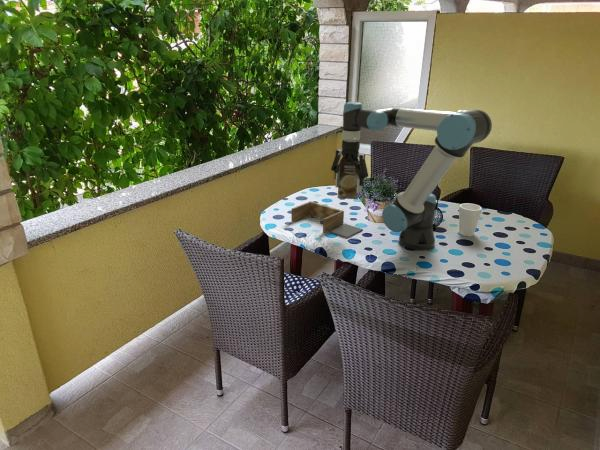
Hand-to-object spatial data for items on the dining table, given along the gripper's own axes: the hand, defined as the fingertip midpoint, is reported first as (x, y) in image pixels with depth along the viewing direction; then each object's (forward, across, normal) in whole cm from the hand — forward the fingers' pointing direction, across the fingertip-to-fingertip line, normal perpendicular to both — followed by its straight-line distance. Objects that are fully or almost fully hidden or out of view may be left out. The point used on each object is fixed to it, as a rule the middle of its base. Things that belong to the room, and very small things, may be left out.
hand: (348, 189), depth 201 cm
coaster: (+20, 0, 0) cm, 20 cm away
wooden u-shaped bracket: (+20, +16, +2) cm, 26 cm away
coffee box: (+4, 0, 0) cm, 4 cm away
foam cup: (+20, -42, -36) cm, 59 cm away
